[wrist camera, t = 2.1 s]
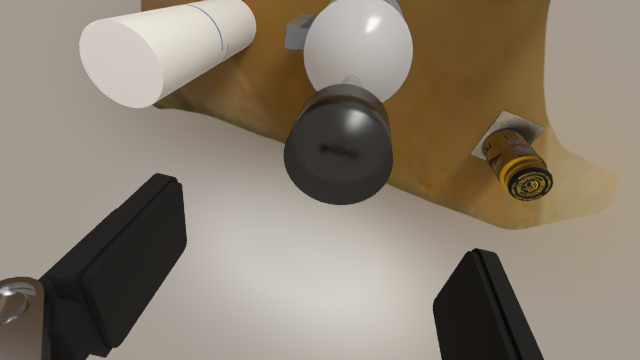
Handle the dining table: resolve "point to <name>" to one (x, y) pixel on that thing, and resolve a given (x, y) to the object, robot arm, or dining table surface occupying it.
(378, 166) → the plunger
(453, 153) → the dining table surface
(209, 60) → the cylindrical container
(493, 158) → the condiment
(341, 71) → the press housing
